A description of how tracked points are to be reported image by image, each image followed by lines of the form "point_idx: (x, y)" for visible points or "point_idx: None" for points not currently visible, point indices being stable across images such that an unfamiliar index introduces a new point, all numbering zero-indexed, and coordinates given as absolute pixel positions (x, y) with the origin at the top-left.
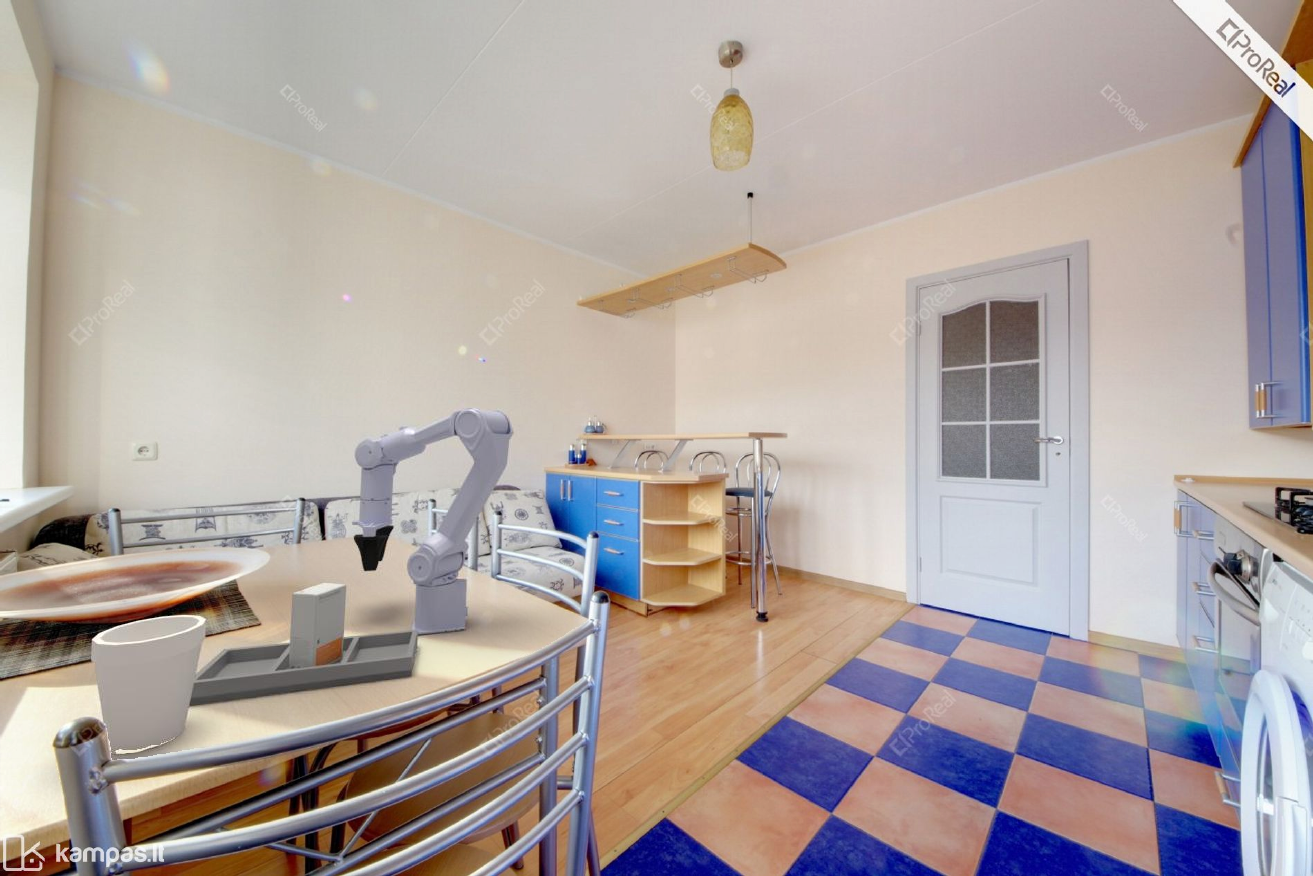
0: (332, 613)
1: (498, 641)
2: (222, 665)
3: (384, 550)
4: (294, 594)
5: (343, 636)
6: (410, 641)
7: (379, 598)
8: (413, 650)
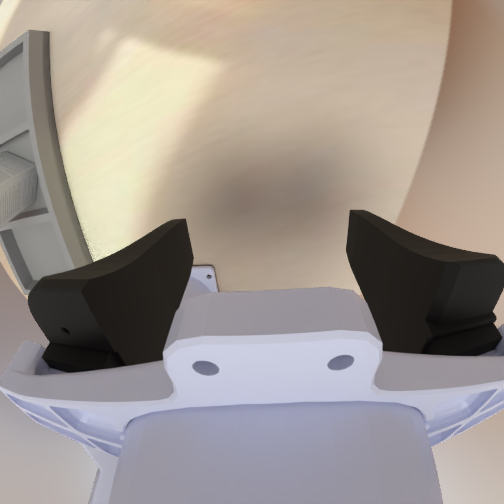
0: None
1: None
2: (21, 49)
3: (361, 287)
4: None
5: (13, 217)
6: None
7: (411, 168)
8: None
